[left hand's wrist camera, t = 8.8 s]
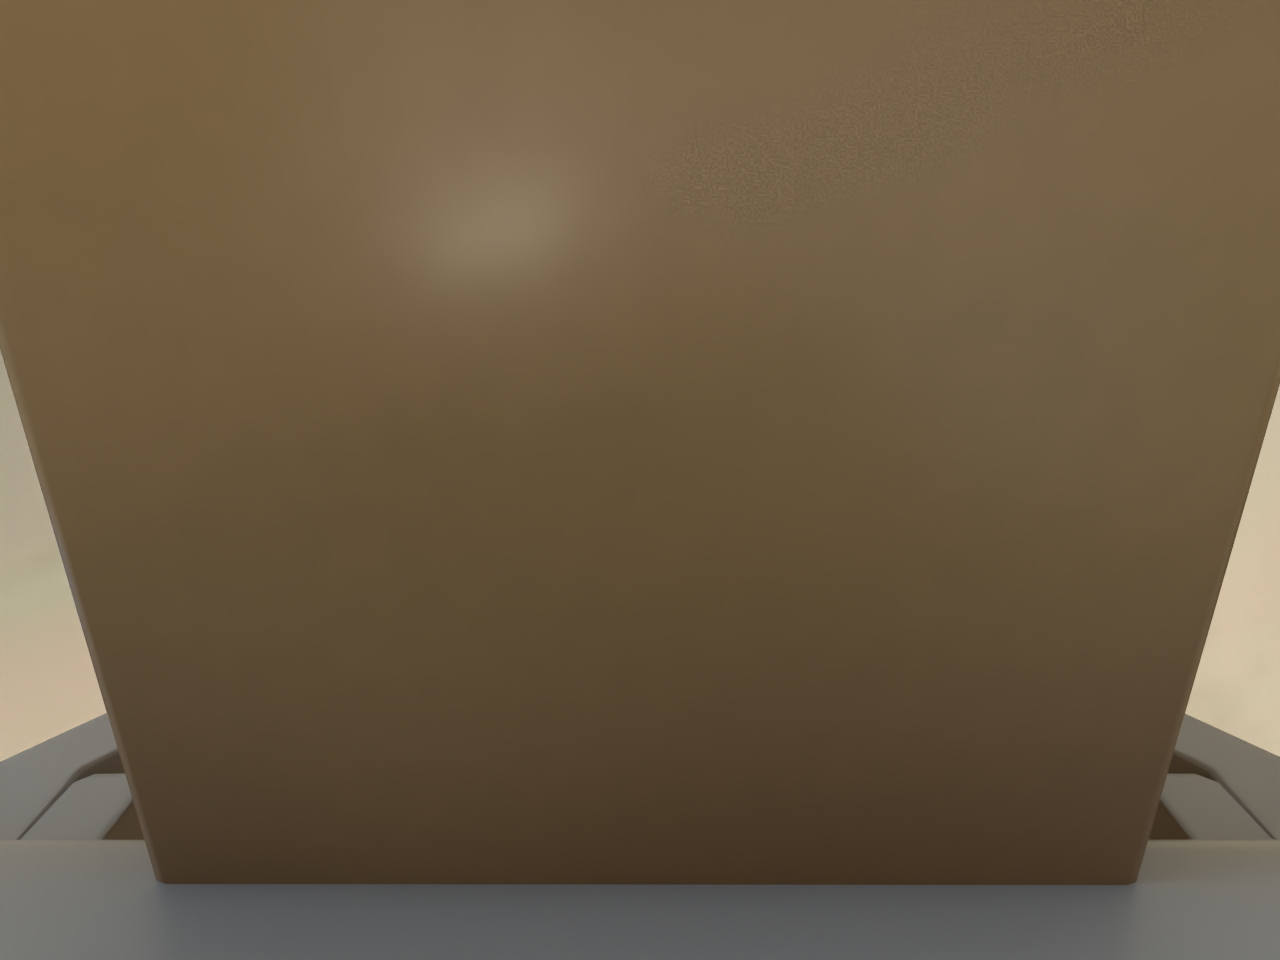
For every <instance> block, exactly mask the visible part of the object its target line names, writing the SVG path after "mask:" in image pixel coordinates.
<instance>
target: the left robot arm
mask: <svg viewBox="0 0 1280 960" xmlns="http://www.w3.org/2000/svg"><path fill="white" fill-rule="evenodd" d="M0 960H1280V757H1278V756H1276V755H1274V754H1272V753H1270V752H1268V751H1265V750H1263V749H1261V748H1259V747H1257V746H1254V745H1252V744H1250V743H1248V742H1246V741H1244V740H1241V739H1239V738H1237V737H1235V736H1233V735H1230V734H1228V733H1226V732H1224V731H1222V730H1219V729H1217V728H1215V727H1213V726H1211V725H1209V724H1206V723H1204V722H1202V721H1200V720H1198V719H1195V718H1193V717H1191V716H1189V715H1187V714H1184V718H1183V721H1182V725H1181V728H1180V732H1179V735H1178V739H1177V742H1176V745H1175V749H1174V752H1173V756H1172V759H1171V763H1170V766H1169V770H1168V773H1167V777H1166V780H1165V784H1164V787H1163V791H1162V794H1161V798H1160V801H1159V805H1158V808H1157V811H1156V815H1155V818H1154V822H1153V825H1152V829H1151V832H1150V836H1149V839H1148V843H1147V846H1146V850H1145V853H1144V857H1143V860H1142V864H1141V867H1140V871H1139V874H1138V877H1137V881H1136V882H1134V883H1131V884H1129V885H634V884H164V883H162V882H159V881H156V878H155V874H154V871H153V867H152V864H151V861H150V857H149V854H148V850H147V847H146V844H145V840H144V837H143V833H142V830H141V827H140V823H139V820H138V816H137V813H136V809H135V806H134V803H133V799H132V796H131V792H130V789H129V786H128V782H127V779H126V775H125V772H124V769H123V765H122V762H121V758H120V755H119V752H118V748H117V745H116V741H115V738H114V735H113V731H112V728H111V724H110V721H109V717H108V714H107V713H106V714H104V715H101V716H99V717H97V718H95V719H93V720H91V721H88V722H86V723H84V724H82V725H80V726H77V727H75V728H73V729H71V730H69V731H67V732H64V733H62V734H60V735H58V736H56V737H54V738H51V739H49V740H47V741H45V742H43V743H41V744H38V745H36V746H34V747H32V748H30V749H28V750H25V751H23V752H21V753H19V754H17V755H15V756H12V757H10V758H8V759H6V760H4V761H1V762H0Z"/></svg>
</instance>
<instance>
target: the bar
mask: <svg viewBox="0 0 1280 960" xmlns="http://www.w3.org/2000/svg"><path fill="white" fill-rule="evenodd" d="M0 350H1V353H2V356H3V360H4V363H5V367H6V370H7V373H8V377H9V380H10V384H11V387H12V390H13V394H14V397H15V401H16V404H17V408H18V411H19V414H20V418H21V421H22V425H23V428H24V431H25V435H26V438H27V442H28V445H29V448H30V452H31V455H32V459H33V462H34V465H35V469H36V472H37V476H38V479H39V482H40V486H41V489H42V493H43V496H44V499H45V503H46V506H47V510H48V513H49V517H50V520H51V523H52V527H53V530H54V534H55V537H56V540H57V544H58V547H59V551H60V554H61V557H62V561H63V564H64V568H65V571H66V574H67V578H68V581H69V585H70V588H71V591H72V595H73V598H74V602H75V605H76V608H77V612H78V615H79V619H80V622H81V626H82V629H83V632H84V636H85V639H86V643H87V646H88V649H89V653H90V656H91V660H92V663H93V666H94V670H95V673H96V677H97V680H98V683H99V687H100V690H101V694H102V697H103V700H104V704H105V707H106V711H107V714H108V717H109V721H110V724H111V728H112V731H113V735H114V738H115V741H116V745H117V748H118V752H119V755H120V758H121V762H122V765H123V769H124V772H125V775H126V779H127V782H128V786H129V789H130V792H131V796H132V799H133V803H134V806H135V809H136V813H137V816H138V820H139V823H140V827H141V830H142V833H143V837H144V840H145V844H146V847H147V850H148V854H149V857H150V861H151V864H152V867H153V871H154V874H155V878H156V881H159V882H162V883H164V884H634V885H1129V884H1131V883H1134V882H1136V881H1137V877H1138V874H1139V871H1140V867H1141V864H1142V860H1143V857H1144V853H1145V850H1146V846H1147V843H1148V839H1149V836H1150V832H1151V829H1152V825H1153V822H1154V818H1155V815H1156V811H1157V808H1158V805H1159V801H1160V798H1161V794H1162V791H1163V787H1164V784H1165V780H1166V777H1167V773H1168V770H1169V766H1170V763H1171V759H1172V756H1173V752H1174V749H1175V745H1176V742H1177V739H1178V735H1179V732H1180V728H1181V725H1182V721H1183V718H1184V714H1185V711H1186V707H1187V704H1188V700H1189V697H1190V693H1191V690H1192V686H1193V683H1194V679H1195V676H1196V673H1197V669H1198V666H1199V662H1200V659H1201V655H1202V652H1203V648H1204V645H1205V641H1206V638H1207V634H1208V631H1209V627H1210V624H1211V620H1212V617H1213V613H1214V610H1215V607H1216V603H1217V600H1218V596H1219V593H1220V589H1221V586H1222V582H1223V579H1224V575H1225V572H1226V568H1227V565H1228V561H1229V558H1230V554H1231V551H1232V548H1233V544H1234V541H1235V537H1236V534H1237V530H1238V527H1239V523H1240V520H1241V516H1242V513H1243V509H1244V506H1245V502H1246V499H1247V495H1248V492H1249V488H1250V485H1251V481H1252V478H1253V475H1254V471H1255V468H1256V464H1257V461H1258V457H1259V454H1260V450H1261V447H1262V443H1263V440H1264V436H1265V433H1266V429H1267V426H1268V422H1269V419H1270V416H1271V412H1272V409H1273V405H1274V402H1275V398H1276V395H1277V391H1278V388H1279V384H1280V0H0Z"/></svg>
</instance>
